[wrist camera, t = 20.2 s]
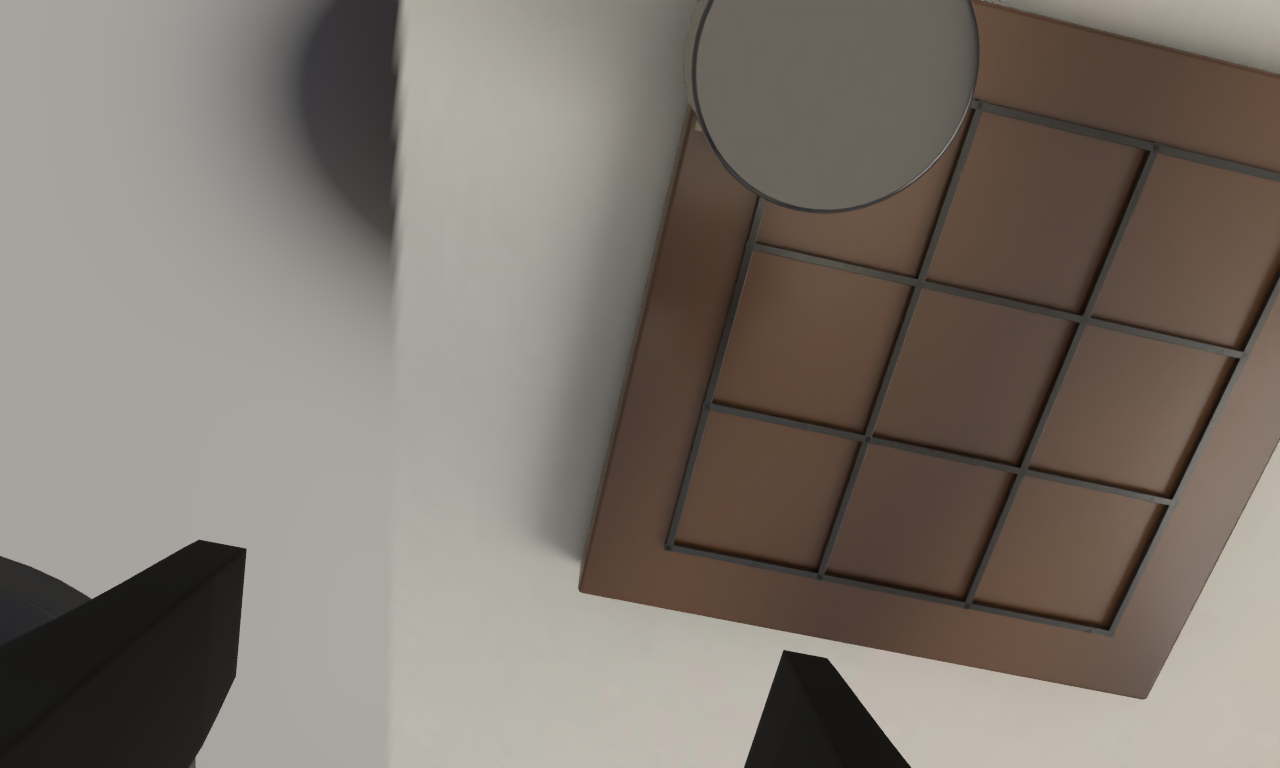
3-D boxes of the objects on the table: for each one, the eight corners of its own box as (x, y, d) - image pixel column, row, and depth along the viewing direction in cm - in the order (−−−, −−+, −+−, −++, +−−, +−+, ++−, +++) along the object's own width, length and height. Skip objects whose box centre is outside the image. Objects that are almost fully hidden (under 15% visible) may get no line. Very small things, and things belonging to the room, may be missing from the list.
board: (580, 565, 23) (576, 598, 22) (725, -58, 18) (731, -63, 17) (1123, 669, 24) (1150, 707, 23) (1402, 110, 19) (1457, 117, 18)
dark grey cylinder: (701, 199, 18) (712, 235, 15) (665, -47, 17) (670, -60, 14) (930, 160, 18) (987, 190, 15) (915, -94, 17) (975, -118, 14)
